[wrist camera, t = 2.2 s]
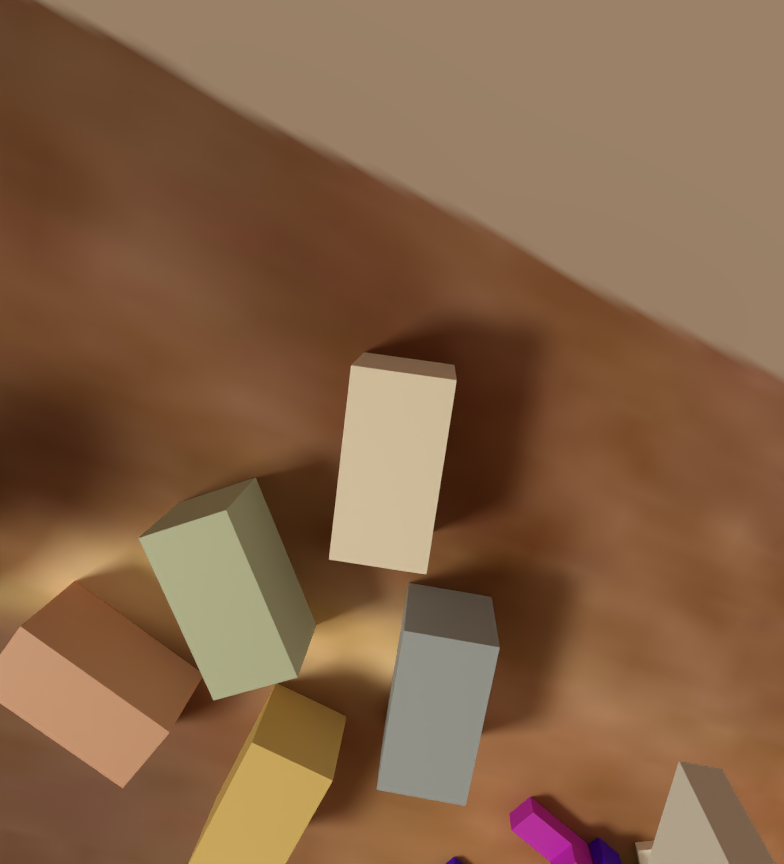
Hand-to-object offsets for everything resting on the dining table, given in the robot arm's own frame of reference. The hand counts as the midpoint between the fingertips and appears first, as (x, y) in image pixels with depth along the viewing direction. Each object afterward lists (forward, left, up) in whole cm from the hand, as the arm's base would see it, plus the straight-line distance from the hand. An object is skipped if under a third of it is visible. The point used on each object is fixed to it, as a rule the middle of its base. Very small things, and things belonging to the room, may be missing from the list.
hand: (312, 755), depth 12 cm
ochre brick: (+20, -4, -22) cm, 30 cm away
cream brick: (0, 0, -22) cm, 22 cm away
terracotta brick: (+15, -14, -22) cm, 30 cm away
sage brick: (+8, -7, -22) cm, 24 cm away
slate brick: (+12, +4, -22) cm, 25 cm away
